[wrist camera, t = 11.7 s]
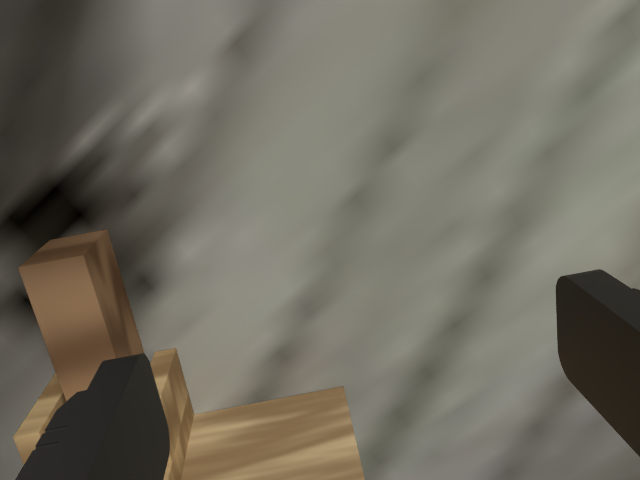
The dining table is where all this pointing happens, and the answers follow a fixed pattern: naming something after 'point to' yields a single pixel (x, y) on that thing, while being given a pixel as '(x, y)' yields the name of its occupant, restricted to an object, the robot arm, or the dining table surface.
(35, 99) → the dining table surface
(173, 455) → the light wood notched block
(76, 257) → the brown rectangular block
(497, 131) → the dining table surface
